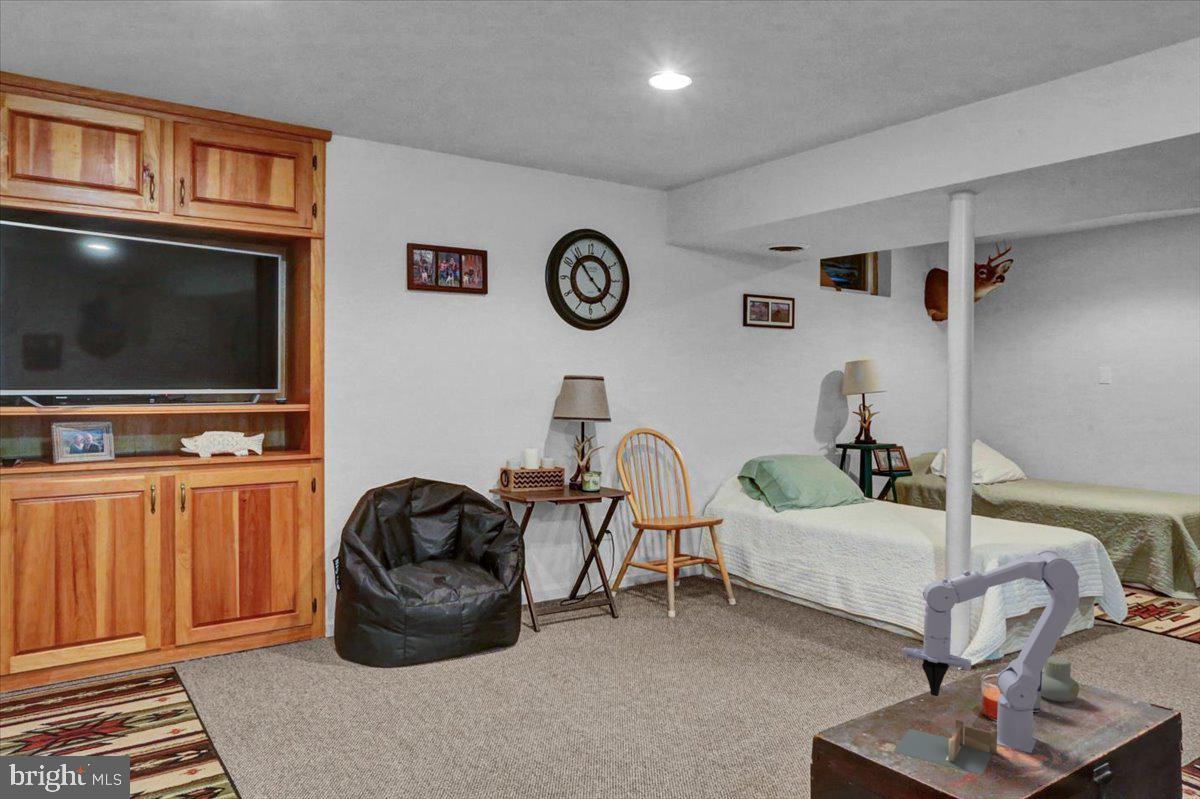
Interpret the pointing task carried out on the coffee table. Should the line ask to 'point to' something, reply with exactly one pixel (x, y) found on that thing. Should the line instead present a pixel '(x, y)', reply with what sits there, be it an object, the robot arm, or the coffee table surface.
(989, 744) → the fence frame
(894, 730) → the coffee table surface
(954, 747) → the fence panel
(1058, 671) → the grey l-shaped piece
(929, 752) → the card
